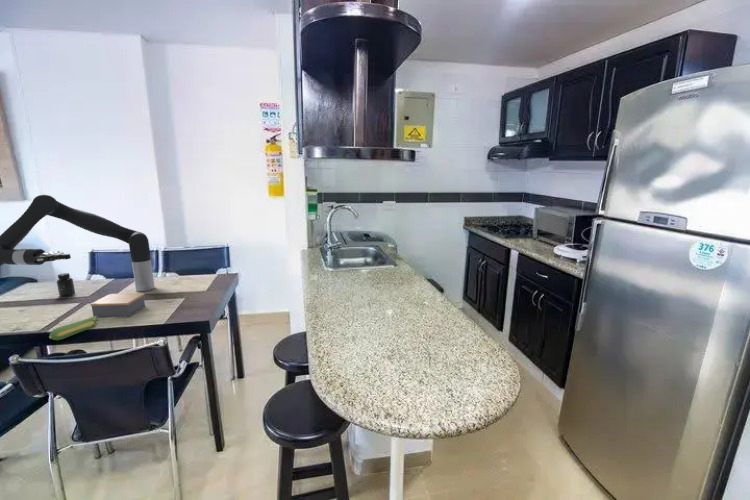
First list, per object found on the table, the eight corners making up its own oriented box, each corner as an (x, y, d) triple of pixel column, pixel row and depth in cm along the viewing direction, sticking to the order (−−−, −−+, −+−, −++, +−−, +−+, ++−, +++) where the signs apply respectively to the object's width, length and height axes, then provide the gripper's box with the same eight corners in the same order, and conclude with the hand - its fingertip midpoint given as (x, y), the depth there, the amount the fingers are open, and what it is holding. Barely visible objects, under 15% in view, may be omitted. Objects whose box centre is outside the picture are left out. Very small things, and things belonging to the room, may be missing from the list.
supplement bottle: (78, 293, 197) (74, 273, 194) (64, 297, 190) (60, 276, 188) (70, 292, 199) (66, 272, 196) (56, 296, 193) (52, 275, 190)
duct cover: (110, 295, 176) (110, 293, 176) (144, 295, 177) (144, 293, 177) (90, 305, 163) (90, 303, 162) (127, 305, 164) (127, 303, 163)
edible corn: (43, 331, 140) (50, 330, 139) (96, 314, 159) (102, 313, 158) (48, 344, 141) (55, 342, 139) (100, 325, 160) (106, 323, 158)
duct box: (112, 307, 177) (110, 296, 176) (145, 306, 178) (143, 295, 177) (93, 317, 164) (91, 305, 163) (129, 316, 165) (127, 304, 164)
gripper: (14, 252, 155) (56, 251, 156) (40, 246, 168) (78, 245, 169) (18, 268, 157) (59, 268, 158) (43, 261, 170) (81, 261, 171)
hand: (69, 256), depth 164 cm, fingers closed
